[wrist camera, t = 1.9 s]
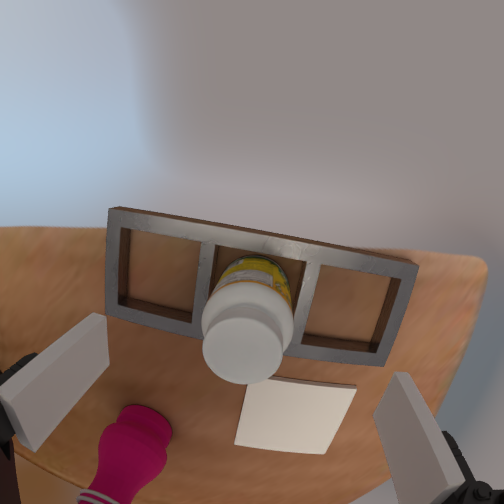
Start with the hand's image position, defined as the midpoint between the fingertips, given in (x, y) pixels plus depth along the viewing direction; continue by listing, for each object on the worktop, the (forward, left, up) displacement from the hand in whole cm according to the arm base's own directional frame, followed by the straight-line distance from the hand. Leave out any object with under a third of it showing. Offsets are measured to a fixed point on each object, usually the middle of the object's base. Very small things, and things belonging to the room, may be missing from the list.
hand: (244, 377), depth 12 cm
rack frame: (0, 0, -12) cm, 12 cm away
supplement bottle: (0, 0, -12) cm, 12 cm away
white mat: (+6, -13, -12) cm, 18 cm away
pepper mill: (-9, -19, -12) cm, 24 cm away
